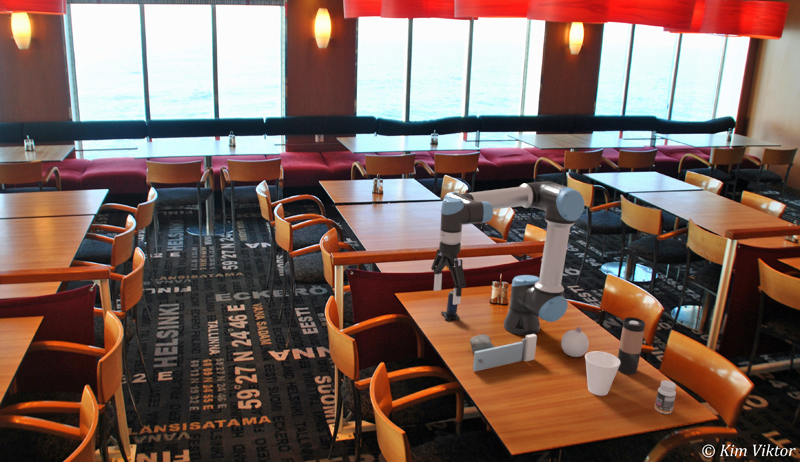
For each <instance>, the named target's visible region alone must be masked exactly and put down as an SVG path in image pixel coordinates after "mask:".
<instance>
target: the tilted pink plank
mask: <svg viewBox="0 0 800 462" xmlns="http://www.w3.org/2000/svg"><path fill="white" fill-rule="evenodd" d="M537 338H538V336H537V335H536V334H531V335H525V338H524V339H526V349H525V357H524V361H525V362H529V361H532V360H535V356H536V348H537Z"/></svg>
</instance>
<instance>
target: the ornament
mask: <svg viewBox="0 0 800 462" xmlns="http://www.w3.org/2000/svg"><path fill="white" fill-rule="evenodd" d="M560 343H561V344H560V345H561V348H562V351H563V352H564V354H566V355H568V356H569V357H573V358H579V357H582V356H585V355H586V354H587V353H588V352H587V351H588V349H589V345H590V343H589V338H588V336H587V335H586V333H584V332H582V329H581V326H577V328H576V329H571V330H568V331H566V332H565V333H564V334H563V336H562V337H561V342H560Z"/></svg>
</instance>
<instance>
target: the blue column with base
mask: <svg viewBox="0 0 800 462" xmlns="http://www.w3.org/2000/svg"><path fill="white" fill-rule="evenodd" d="M453 293H454V290H450V291H449V292H448V295H447V303H446V304H447V305H446V310H445V311H443V310H442V311H441V312H440V313H441V315H443V316H444V320H445V321H448V322H451V321H452V319H453V321H454V320H460V319H461V318H460V316H459V314H458V313H457V311H458V305H459V304H456V305H453Z"/></svg>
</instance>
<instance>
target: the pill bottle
mask: <svg viewBox="0 0 800 462" xmlns="http://www.w3.org/2000/svg"><path fill="white" fill-rule="evenodd" d="M676 388H677V385H676V383H675V382H673V381H670V380H667V379H666V380H661V381H660V386H659V387H658V388H657V393H656V396H655V397H656V399H655V403H654V409H655V410H656V411H657V412H659V413H661V414H665V415H666V414H667V415H669V414H671V413H673V411H674V406H675V400H676V394H677V391H676Z"/></svg>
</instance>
